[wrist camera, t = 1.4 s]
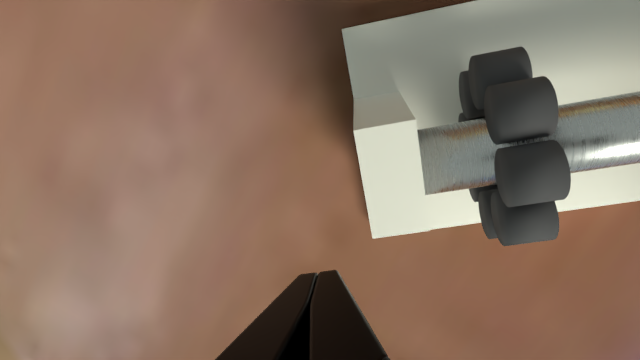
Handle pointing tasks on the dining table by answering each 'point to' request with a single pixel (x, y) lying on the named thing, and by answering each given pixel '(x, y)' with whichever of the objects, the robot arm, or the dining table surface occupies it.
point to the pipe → (571, 133)
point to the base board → (444, 101)
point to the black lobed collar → (521, 160)
